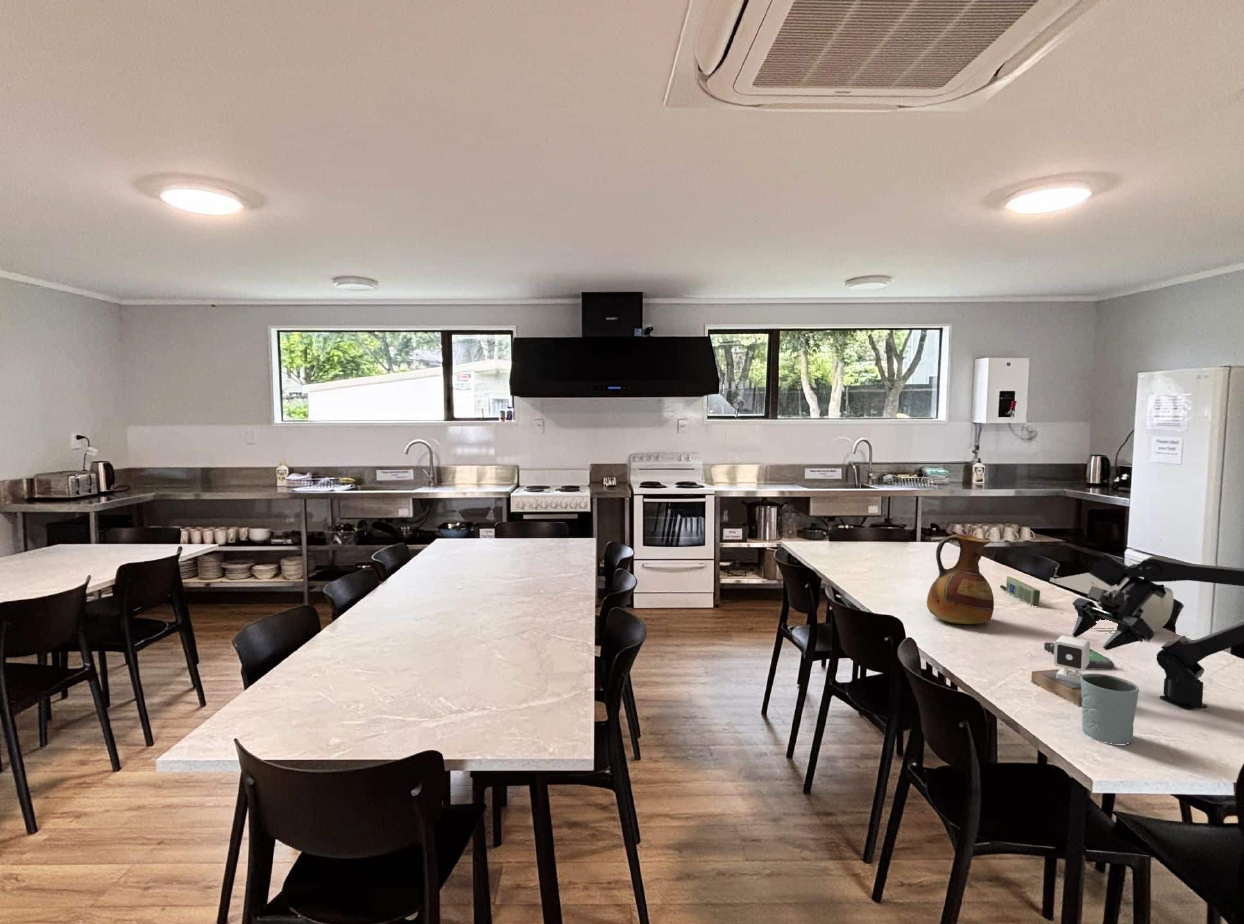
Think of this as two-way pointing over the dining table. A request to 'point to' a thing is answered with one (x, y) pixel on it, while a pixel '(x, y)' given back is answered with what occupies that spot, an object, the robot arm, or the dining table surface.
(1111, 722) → the green plant pot
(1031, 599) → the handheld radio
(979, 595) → the ceramic pitcher
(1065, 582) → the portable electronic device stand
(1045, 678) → the walnut stand
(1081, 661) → the security camera
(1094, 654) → the disk drive
